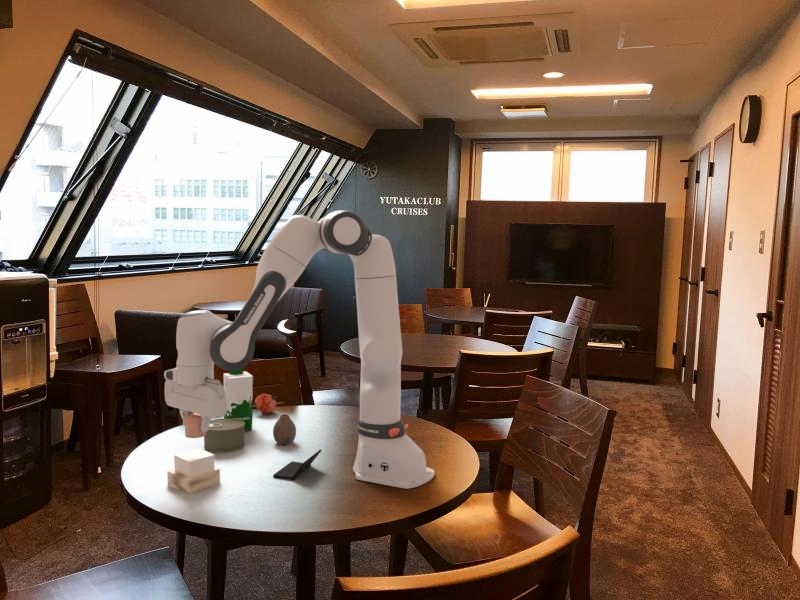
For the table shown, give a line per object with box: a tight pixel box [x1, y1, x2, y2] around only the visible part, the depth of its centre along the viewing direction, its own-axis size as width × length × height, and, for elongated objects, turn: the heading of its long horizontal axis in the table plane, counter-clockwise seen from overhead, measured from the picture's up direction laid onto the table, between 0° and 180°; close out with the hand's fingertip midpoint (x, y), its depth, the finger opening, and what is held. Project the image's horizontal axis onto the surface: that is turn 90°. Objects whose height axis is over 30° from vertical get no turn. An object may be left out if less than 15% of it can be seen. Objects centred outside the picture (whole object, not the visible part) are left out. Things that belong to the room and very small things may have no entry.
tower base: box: [166, 467, 221, 495], centre depth 160 cm, size 9×9×4 cm
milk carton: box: [223, 368, 254, 432], centre depth 205 cm, size 9×9×20 cm
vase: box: [272, 413, 297, 446], centre depth 192 cm, size 7×7×9 cm
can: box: [203, 418, 245, 454], centre depth 189 cm, size 12×12×7 cm
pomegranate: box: [254, 393, 277, 415], centre depth 224 cm, size 7×7×10 cm
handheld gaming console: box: [272, 449, 322, 481], centre depth 169 cm, size 12×7×10 cm
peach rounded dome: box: [184, 412, 206, 439], centre depth 159 cm, size 5×5×5 cm
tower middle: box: [174, 448, 216, 478], centre depth 159 cm, size 7×7×4 cm
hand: (195, 428), depth 159 cm, fingers closed on peach rounded dome, 5 cm apart
